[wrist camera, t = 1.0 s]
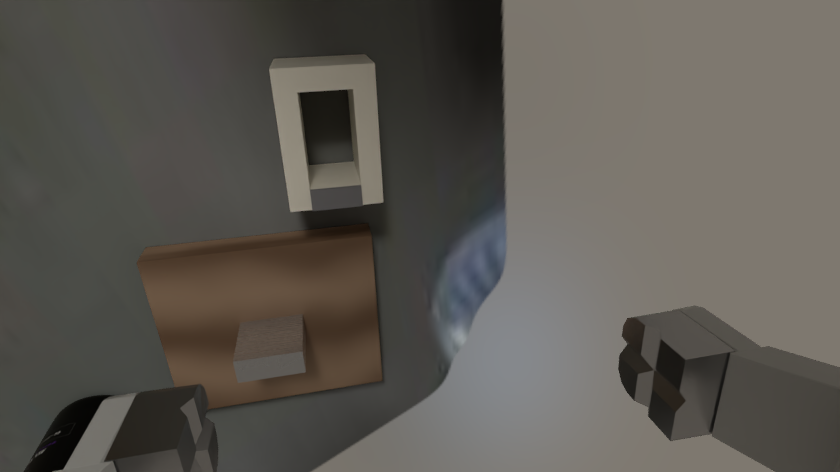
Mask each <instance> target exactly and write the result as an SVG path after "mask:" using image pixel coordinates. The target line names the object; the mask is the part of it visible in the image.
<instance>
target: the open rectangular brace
mask: <svg viewBox="0 0 840 472" xmlns="http://www.w3.org/2000/svg"><path fill="white" fill-rule="evenodd" d="M269 72H270V79H271V86H272V92H273V99H274V106H275V112H276V119H277V126H278V132H279V139H280V146H281V152H282V159H283V166H284V172H285V179H286V186H287V192H288V199H289V206H290V212H297V211H307V210H312V211H320V210H330V209H340V208H349V207H359V206H363V205H366V204H375V203H383V187H382V171H381V154H380V138H379V122H378V106H377V90H376V74H375V63H374V62H373V61H372V60H371V59H370V58H369V57H368V56H367V55H366V54H357V55H337V56H317V57H297V58H277V59H273V61H272V63H271V66H270V68H269ZM330 90H348V101H349V113H350V125H351V136H352V148H353V159H354V161H352V162H340V163H329V164H317V165H309V162H308V154H307V146H306V138H305V130H304V122H303V115H302V107H301V99H300V92H314V91H330Z"/></svg>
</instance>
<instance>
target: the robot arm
mask: <svg viewBox="0 0 840 472" xmlns="http://www.w3.org/2000/svg"><path fill="white" fill-rule="evenodd" d="M622 337H623V338H624V340H625V341H626V342H627V346H626V347H625V349H624V350H623V351H622V352H621V354H620V356H619V368H618V369H619V373H620V378H621V382H622V384H623V386H624V388H625V389H626V391H627V393H628V394H629V395H630V396H631V397H632V399H633V400H634V401H636V402H638V403H640V404H643V405H645V406H647V407H648V408H649V409H648V417H649V418H650V419H651V420H652V421H653V422H654V423H655V424H656V426H657V427H658V428H659V429H660V430H661V431H662V432H663V433H664V434H665V435H666V437H667V438H668V439H669V440H670V441H673V440H679V439H685V438H691V437H697V436H702V435H708V434H712V436H713V437H714V438H716V439H718V440H720V441H721V442H723V443H725V444H727V445H729V446H730V447H732V448H734V449H736V450H737V451H739V452H741V453H743V454H745V455H746V456H748V457H750V458H752V459H754V460H755V461H757V462H759V463H761V464H762V465H764V466H766V467H768V468H770V469H771V470H773V471H775V472H840V367H836V366H833V365H830V364H826V363H823V362H820V361H816V360H813V359H810V358H806V357H803V356H800V355H796V354H793V353H789V352H786V351H783V350H779V349H776V348H773V347H769V346H767V347H760V346H759V345H757V344H756V343H754V342H753V341H752V340H750V339H749V338H747V337H746V336H744V335H743V334H741V333H740V332H738V331H737V330H735V329H734V328H732V327H731V326H729V325H728V324H726V323H725V322H724V321H722V320H721V319H719V318H718V317H716V316H715V315H713V314H712V313H710V312H709V311H707V310H706V309H705V308H702V307H698V306H691V307H685V308H681V309H675V310H672V311H667V312H661V313H656V314H649V315H643V316H637V317H631V318H627V320H626V322H625V324H624V326H623V333H622ZM208 405H209V401H208V397H207V394H206V390H205V388H204V387H203V386H202V385H201V384H196V385H188V386H181V387H174V388H166V389H159V390H151V391H144V392H140V393H137V392H136V393H130V394H124V395H117V396H111V397H108V398H107V399H105V400H103V401H102V403H101V405H100V406H99V408H98V410H97V411H96V413H95V415H94V417H93V418H92V420H91V422H90V424H89V425H88V427H87V429H86V431H85V432H84V434H83V436H82V438H81V439H80V441H79V443H78V445H77V446H76V448H75V450H74V452H73V453H72V455H71V457H70V459H69V460H68V462H67V464H66V465H65V467H64V469H63V470H59V471H53V472H216V471H217V466H218V441H217V433H216V429H215V425H214V423H213V422H212V421H210V420H209V419H208V418H206V413H207V409H208Z"/></svg>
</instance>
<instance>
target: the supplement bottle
mask: <svg viewBox="0 0 840 472" xmlns="http://www.w3.org/2000/svg"><path fill="white" fill-rule="evenodd" d="M111 396H112V395H97V396H91V397H86V398H83V399H80V400H78V401H75V402H73V403H71V404H70V405H68V406H67V407H65V408H64V409H63V410H62V411H61V412H60V413H59V414H58V415H57V417H56V418H55V419H54V421H53V423H52V424H51V426H50V428H49V429H48V431H47V432H46V434H45V436H44V438H43V439H42V441H41V443H40V444H39V446H38V448H37V450H36V451H35V453H34V455H33V456H32V458H31V460H30V462H29V463H28V465H27V467H26V468H25V470H24V472H53V471H59V470H63V469H64V467H65V465H66V464H67V462H68V460H69V459H70V457H71V455H72V453H73V452H74V450H75V448H76V446H77V445H78V443H79V441H80V439H81V438H82V436H83V434H84V432H85V431H86V429H87V427H88V425H89V424H90V422H91V420H92V418H93V417H94V415H95V413H96V411H97V410H98V408H99V406H100V405H101V403H102V401H103V400H105V399H107V398H108V397H111Z"/></svg>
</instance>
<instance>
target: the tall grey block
mask: <svg viewBox="0 0 840 472" xmlns="http://www.w3.org/2000/svg"><path fill="white" fill-rule="evenodd" d="M233 365H234V369H235V373H236V377H237V381H238V383H241V382H248V381H254V380H260V379H267V378H273V377H279V376H286V375H292V374H299V373H305V372H306V334H305V327H304V321H303V314H300V315H293V316H285V317H278V318H271V319H263V320H256V321H249V322H242V323H240V327H239V332H238V337H237V343H236V348H235V353H234V359H233Z"/></svg>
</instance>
